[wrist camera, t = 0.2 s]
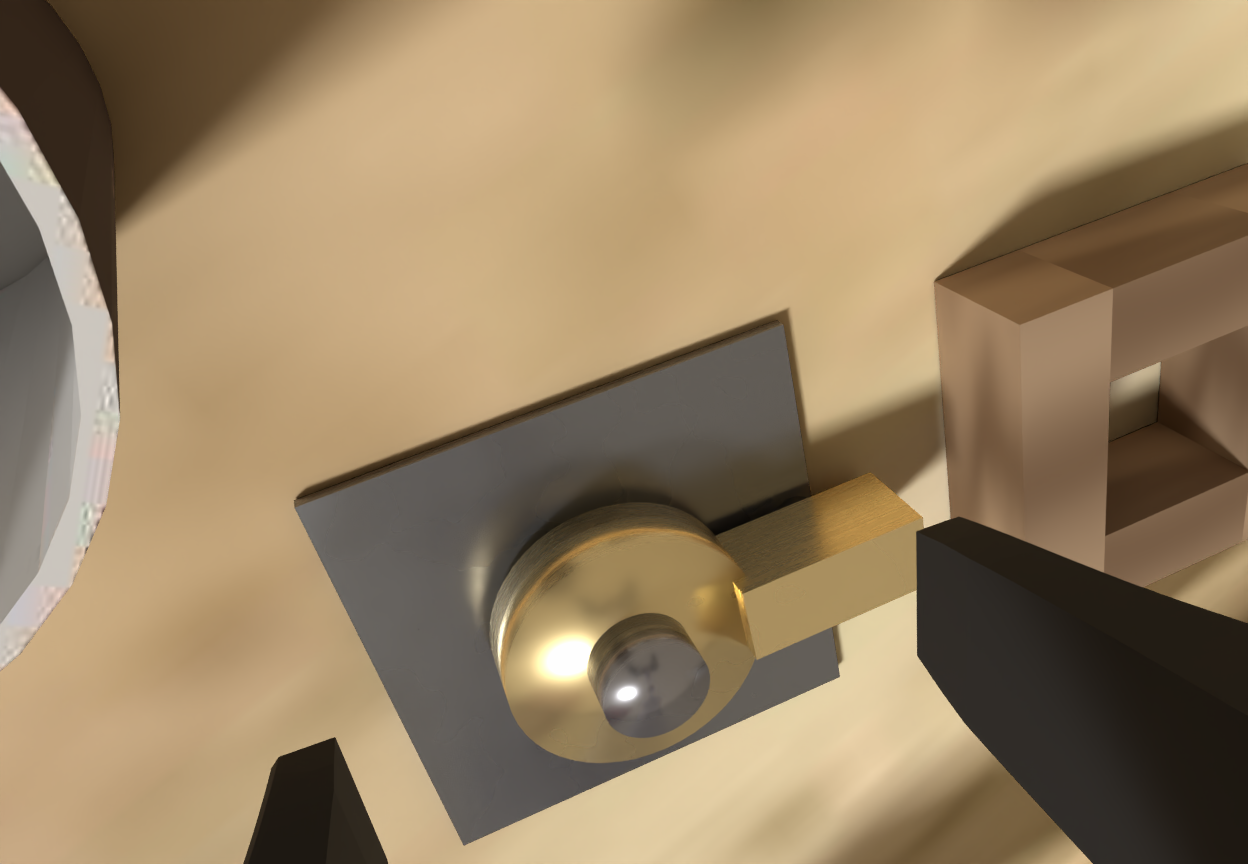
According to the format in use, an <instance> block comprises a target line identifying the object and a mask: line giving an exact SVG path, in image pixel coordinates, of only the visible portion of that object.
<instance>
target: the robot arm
mask: <svg viewBox="0 0 1248 864" xmlns="http://www.w3.org/2000/svg"><path fill="white" fill-rule="evenodd" d="M916 568H917V656H918V657H919V659H920V660H921V662H922V663H923V665H924V666H925V668H926V669H927V671H928V672H929V674H930V675H931V677H932V678H933V679H934V681H935V682H936V684H937V685H938V687H939V688H940V690H941V691H942V693H943V694H944V695H945V697H946V698H947V700H948V701H949V702H950V704H951V705H952V706H953V708H954V709H955V711H956V712H957V713H958V715H959V716H960V717H961V719H962V720H963V721H964V723H965V724H966V725H967V726H968V727H969V729H970V730H971V731H972V732H973V733H974V734H975V735H976V736H977V738H978V739H979V740H980V741H981V742H982V743H983V744H984V745H985V746H986V748H987V749H988V750H989V751H990V752H991V753H992V754H993V755H994V756H995V758H996V759H997V760H998V761H999V762H1000V763H1001V764H1002V765H1003V766H1004V767H1005V769H1006V770H1007V771H1008V772H1009V773H1010V774H1011V775H1012V776H1013V777H1014V778H1015V779H1016V781H1017V782H1018V783H1019V784H1020V785H1021V786H1022V787H1023V788H1024V789H1025V790H1026V791H1027V793H1028V794H1029V795H1030V796H1031V797H1032V798H1033V799H1034V800H1035V801H1036V802H1037V803H1038V804H1039V806H1040V807H1041V808H1042V809H1043V810H1044V811H1045V812H1046V813H1047V814H1048V815H1049V816H1050V817H1051V819H1052V820H1053V821H1054V822H1055V823H1056V824H1057V825H1058V826H1059V827H1060V828H1061V829H1062V831H1063V832H1064V833H1065V834H1066V835H1067V836H1068V837H1069V838H1070V839H1071V840H1072V841H1073V842H1074V844H1075V845H1076V846H1077V847H1078V848H1079V849H1080V850H1081V851H1082V852H1083V853H1084V854H1085V856H1086V857H1087V858H1088V859H1089V860H1090V861H1091V862H1092V863H1093V864H1248V623H1245V622H1241V621H1238V620H1235V619H1232V618H1230V617H1227V616H1224V615H1221V614H1218V613H1215V612H1212V611H1209V610H1206V609H1203V608H1200V607H1197V606H1194V605H1191V604H1188V603H1185V602H1182V601H1179V600H1176V599H1173V598H1171V597H1168V596H1165V595H1162V594H1159V593H1157V592H1154V591H1151V590H1148V589H1146V588H1143V587H1140V586H1138V585H1135V584H1132V583H1130V582H1127V581H1124V580H1122V579H1119V578H1117V577H1114V576H1111V575H1109V574H1106V573H1104V572H1101V571H1098V570H1096V569H1093V568H1091V567H1088V566H1086V565H1083V564H1081V563H1078V562H1076V561H1073V560H1071V559H1068V558H1066V557H1063V556H1061V555H1058V554H1056V553H1053V552H1051V551H1048V550H1046V549H1043V548H1041V547H1038V546H1036V545H1033V544H1031V543H1028V542H1026V541H1023V540H1021V539H1018V538H1016V537H1013V536H1011V535H1008V534H1006V533H1003V532H1000V531H998V530H995V529H993V528H990V527H987V526H985V525H982V524H979V523H977V522H974V521H971V520H968V519H965V518H962V517H959V516H958V517H956V518H953V519H950V520H947V521H944V522H941V523H939V524H936V525H933V526H930V527H927V528H924V529H922V530H919V531H916ZM244 864H388V861H387V858H386V856H385V853H384V851H383V849H382V846H381V844H380V841H379V839H378V837H377V834H376V832H375V830H374V827H373V825H372V823H371V820H370V818H369V816H368V813H367V811H366V809H365V806H364V804H363V801H362V799H361V797H360V794H359V792H358V790H357V787H356V785H355V783H354V780H353V778H352V776H351V773H350V771H349V769H348V766H347V764H346V761H345V759H344V757H343V754H342V752H341V750H340V747H339V745H338V743H337V740H336V738H335V737H334V738H331V739H328V740H326V741H323V742H320V743H317V744H314V745H311V746H309V747H306V748H303V749H300V750H297V751H295V752H292V753H289V754H286V755H283V756H280V757H278V759H277V760H276V762H275V764H274V765H273V767H272V768H271V772H270V776H269V780H268V784H267V787H266V791H265V795H264V798H263V802H262V805H261V809H260V812H259V816H258V819H257V823H256V826H255V829H254V832H253V836H252V839H251V842H250V845H249V848H248V851H247V854H246V857H245V860H244Z"/></svg>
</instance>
